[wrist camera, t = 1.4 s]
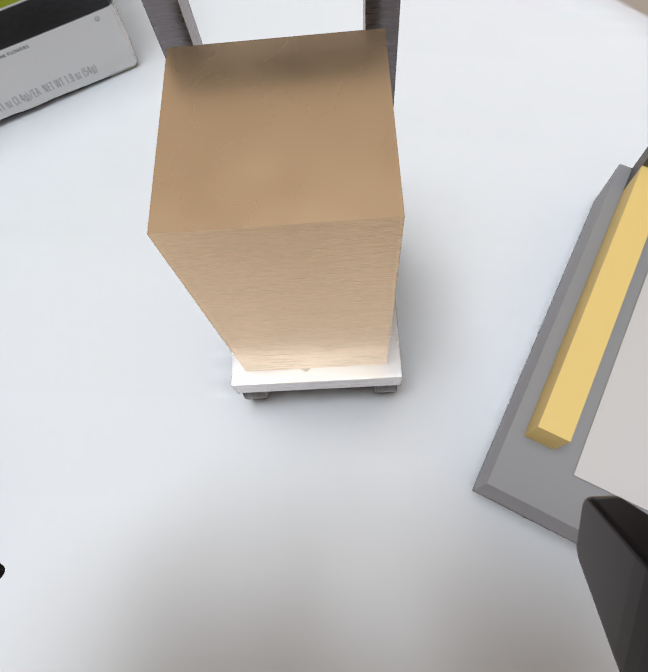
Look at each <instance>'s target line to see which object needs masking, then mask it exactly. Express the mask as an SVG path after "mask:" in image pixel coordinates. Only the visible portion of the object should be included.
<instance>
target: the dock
mask: <svg viewBox="0 0 648 672" xmlns="http://www.w3.org/2000/svg"><path fill="white" fill-rule="evenodd" d="M472 490H473V491H475V492H477V493H479V494H481V495H483V496H485V497H487V498H489V499H491V500H493V501H495V502H496V503H498V504H500V505H502V506H504V507H506V508H508V509H510V510H512V511H514V512H516V513H518V514H520V515H522V516H524V517H526V518H528V519H530V520H532V521H534V522H535V523H537V524H539V525H541V526H543V527H545V528H547V529H549V530H551V531H553V532H555V533H557V534H559V535H561V536H563V537H565V538H567V539H569V540H571V541H572V542H574V543H576V544H577V536H578V529H579V523H580V516H581V509H582V504H583V502H584V500H585V499H586V498H587V497H590V496H606V495H614V496H619V497H621V498H623V499H625V500H626V501H628V502H629V503H631V504H632V505H634V506H636V507H637V508H639V509H640V510H642V511H644V512H645V513H647V514H648V147H647V149H646V150H645V152H644V153H643V154H642V156H641V157H640V158H639V160H638V161H637V163H636V164H635V165H634V167H633V168H630V167H627V166H624V165H621V164H619V166H618V167H617V169H616V170H615V172H614V173H613V175H612V176H611V178H610V179H609V181H608V182H607V183H606V185H605V186H604V188H603V189H602V191H601V192H600V194H599V195H598V197H597V198H596V200H595V201H594V203H593V205H592V208H591V210H590V213H589V215H588V217H587V220H586V222H585V224H584V227H583V229H582V232H581V234H580V236H579V239H578V241H577V243H576V246H575V248H574V250H573V253H572V255H571V258H570V260H569V262H568V265H567V267H566V269H565V272H564V274H563V276H562V279H561V281H560V284H559V286H558V288H557V291H556V293H555V295H554V298H553V300H552V302H551V305H550V307H549V310H548V312H547V314H546V317H545V319H544V321H543V324H542V326H541V329H540V331H539V333H538V336H537V338H536V340H535V343H534V345H533V347H532V350H531V352H530V355H529V357H528V359H527V362H526V364H525V366H524V369H523V371H522V373H521V376H520V378H519V381H518V383H517V385H516V388H515V390H514V392H513V395H512V397H511V399H510V402H509V404H508V407H507V409H506V411H505V414H504V416H503V418H502V421H501V423H500V426H499V428H498V430H497V433H496V435H495V437H494V440H493V442H492V444H491V447H490V449H489V452H488V454H487V456H486V459H485V461H484V463H483V466H482V468H481V470H480V473H479V475H478V478H477V480H476V482H475V485H474V487H473V489H472Z"/></svg>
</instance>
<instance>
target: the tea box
mask: <svg viewBox="0 0 648 672" xmlns="http://www.w3.org/2000/svg"><path fill="white" fill-rule="evenodd" d="M136 63H137V58H136V55H135V52H134V50H133V47H132V44H131V42H130V39H129V37H128V35H127V32H126V30H125V28H124V25H123V23H122V21H121V19H120V16H119V14H118V12H117V10H116V7H115V5H114V3H113V0H0V120H1V119H4V118H6V117H8V116H11V115H13V114H16V113H19V112H22V111H25V110H28V109H30V108H33V107H35V106H38V105H40V104H42V103H45V102H47V101H49V100H51V99H53V98H56V97H58V96H61V95H63V94H66V93H68V92H71V91H74V90H77V89H79V88H81V87H84V86H86V85H89V84H91V83H94V82H97V81H99V80H101V79H104V78H107V77H110V76H113V75H115V74H118V73H120V72H123V71H126V70H128V69H131V68H133V67H135V66H136Z"/></svg>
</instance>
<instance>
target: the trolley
mask: <svg viewBox="0 0 648 672" xmlns="http://www.w3.org/2000/svg"><path fill="white" fill-rule="evenodd" d="M142 3H143V5H144V8H145V10H146V12H147V15H148V17H149V20H150V22H151V24H152V27H153V29H154V32H155V34H156V36H157V39H158V41H159V44H160V46H161V48H162V51H163V53H164V56H165V58H166V63H165V73H164V82H163V91H162V100H161V110H160V119H159V128H158V138H157V147H156V156H155V166H154V175H153V184H152V194H151V203H150V212H149V222H148V231H147V235H148V236H149V238H150V239H151V240H152V242H153V243H154V245H155V246H156V247H157V249H158V250H159V252H160V253H161V254H162V256H163V257H164V259H165V260H166V261H167V263H168V264H169V265H170V267H171V268H172V270H173V271H174V272H175V274H176V275H177V277H178V278H179V279H180V281H181V282H182V284H183V285H184V286H185V288H186V289H187V290H188V292H189V293H190V295H191V296H192V297H193V299H194V300H195V302H196V303H197V304H198V306H199V307H200V309H201V310H202V311H203V313H204V314H205V316H206V317H207V318H208V320H209V321H210V322H211V324H212V325H213V327H214V328H215V329H216V331H217V332H218V334H219V335H220V336H221V338H222V339H223V341H224V342H225V343H226V345H227V346H228V347H229V349H230V350H231V352H232V353H233V357H232V387H233V388H234V389H235V390H236V391H237V393H243V395H244V397H245V399H260V398H268V396H269V392H270V391H289V390H309V389H328V388H348V387H367V386H374V390H375V393H379V392H396V390H397V385H400V384H401V380H402V370H401V359H400V348H399V337H398V326H397V315H396V304H395V291H396V283H397V275H398V267H399V259H400V250H401V242H402V234H403V226H404V218H405V215H404V205H403V196H402V186H401V177H400V167H399V158H398V148H397V138H396V129H395V119H394V110H393V107H394V91H395V76H396V61H397V46H398V30H399V15H400V0H363V30H359V31H348V32H337V33H326V34H315V35H304V36H293V37H282V38H271V39H260V40H249V41H238V42H226V43H215V44H204V45H203V44H202V41H201V38H200V35H199V32H198V29H197V26H196V23H195V20H194V17H193V14H192V11H191V8H190V5H189V1H188V0H142Z"/></svg>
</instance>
